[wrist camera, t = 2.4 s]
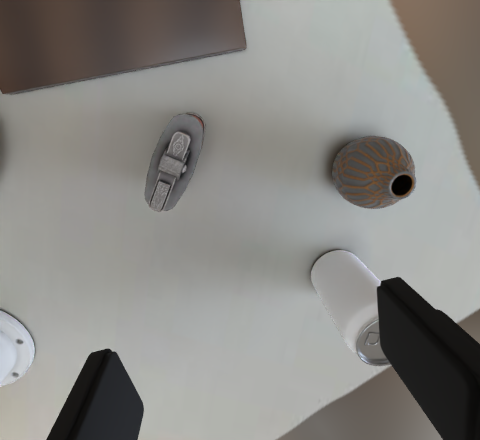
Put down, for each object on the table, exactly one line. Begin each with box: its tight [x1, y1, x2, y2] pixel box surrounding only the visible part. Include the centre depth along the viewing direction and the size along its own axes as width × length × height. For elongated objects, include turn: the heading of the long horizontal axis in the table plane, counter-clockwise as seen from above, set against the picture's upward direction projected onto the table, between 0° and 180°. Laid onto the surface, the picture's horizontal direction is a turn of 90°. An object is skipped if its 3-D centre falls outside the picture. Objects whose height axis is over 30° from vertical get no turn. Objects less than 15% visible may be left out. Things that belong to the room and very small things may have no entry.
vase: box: [332, 136, 416, 209], centre depth 28 cm, size 7×7×9 cm
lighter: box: [145, 113, 205, 212], centre depth 25 cm, size 8×3×10 cm, turn 156°
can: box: [311, 250, 390, 366], centre depth 31 cm, size 6×6×12 cm
